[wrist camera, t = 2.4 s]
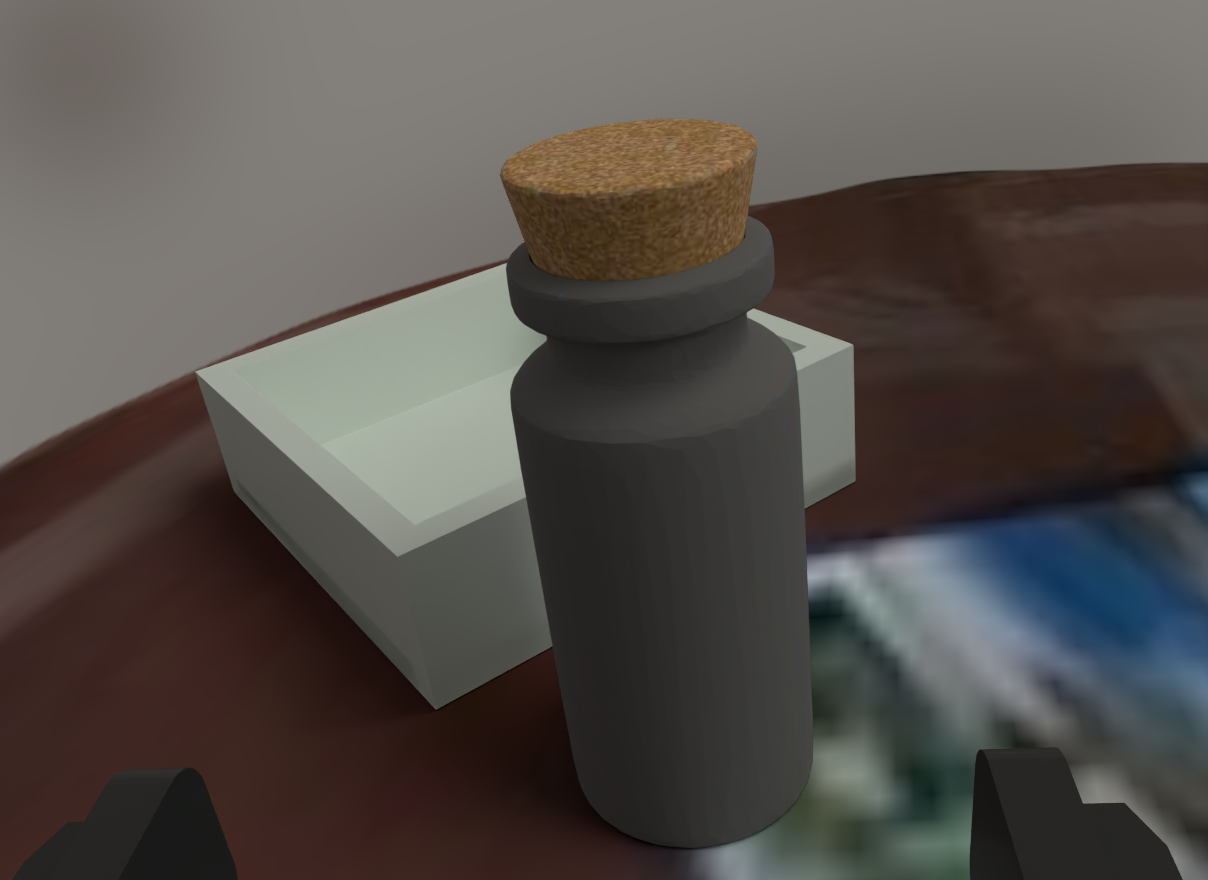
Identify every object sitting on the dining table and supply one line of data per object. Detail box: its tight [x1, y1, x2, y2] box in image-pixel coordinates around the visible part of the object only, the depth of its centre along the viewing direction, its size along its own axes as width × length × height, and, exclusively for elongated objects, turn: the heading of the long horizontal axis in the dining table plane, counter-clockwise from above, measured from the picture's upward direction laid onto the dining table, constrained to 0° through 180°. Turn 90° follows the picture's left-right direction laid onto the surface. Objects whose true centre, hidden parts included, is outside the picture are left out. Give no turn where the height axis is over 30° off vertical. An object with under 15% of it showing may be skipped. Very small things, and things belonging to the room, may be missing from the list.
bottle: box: [500, 119, 813, 848], centre depth 24 cm, size 6×6×15 cm
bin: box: [195, 263, 855, 710], centre depth 39 cm, size 16×16×5 cm
